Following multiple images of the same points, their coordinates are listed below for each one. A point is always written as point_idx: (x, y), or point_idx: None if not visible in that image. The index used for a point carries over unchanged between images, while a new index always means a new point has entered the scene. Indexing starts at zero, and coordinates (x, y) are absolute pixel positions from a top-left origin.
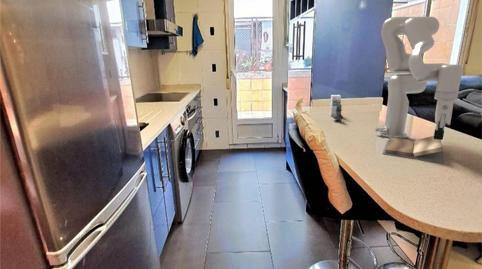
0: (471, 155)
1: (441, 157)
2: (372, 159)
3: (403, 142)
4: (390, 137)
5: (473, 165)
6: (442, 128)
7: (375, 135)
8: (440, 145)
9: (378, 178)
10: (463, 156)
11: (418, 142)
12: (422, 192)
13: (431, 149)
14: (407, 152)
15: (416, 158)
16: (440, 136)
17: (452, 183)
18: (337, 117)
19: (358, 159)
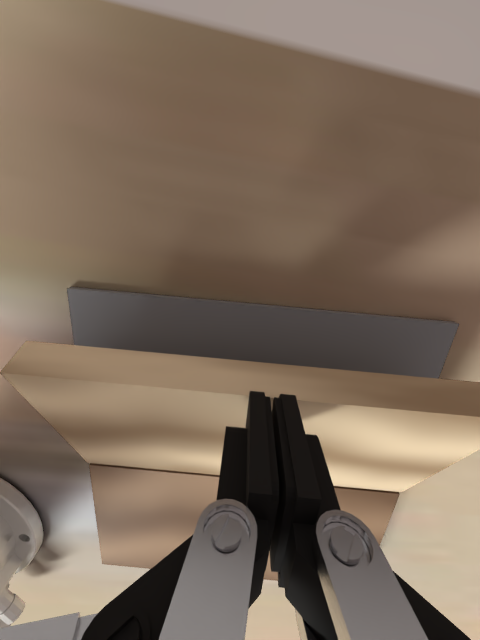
0: (168, 73)
1: (347, 325)
2: (458, 595)
3: (176, 515)
4: (41, 535)
5: (454, 121)
6: (444, 623)
7: (36, 579)
8: (463, 419)
9: None
10: (231, 155)
11: (169, 461)
12: None
13: (467, 451)
14: (391, 512)
15: None
16: (321, 451)
17: None
18: None
19: (469, 629)
